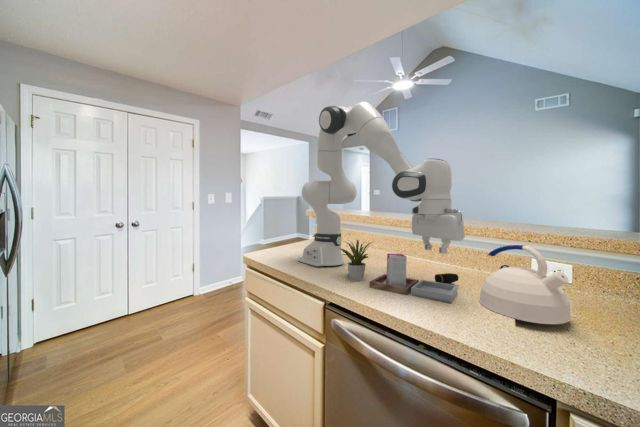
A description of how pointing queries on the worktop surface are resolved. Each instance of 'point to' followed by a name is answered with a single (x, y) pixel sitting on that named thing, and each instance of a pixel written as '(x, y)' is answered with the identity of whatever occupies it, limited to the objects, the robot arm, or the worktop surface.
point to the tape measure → (446, 278)
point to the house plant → (356, 261)
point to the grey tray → (435, 291)
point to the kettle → (526, 291)
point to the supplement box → (396, 269)
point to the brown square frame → (392, 288)
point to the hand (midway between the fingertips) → (435, 251)
